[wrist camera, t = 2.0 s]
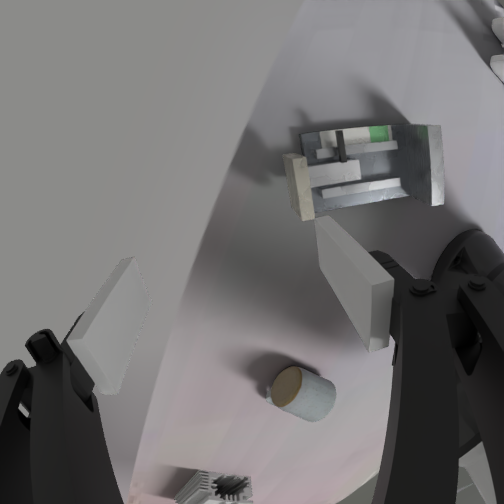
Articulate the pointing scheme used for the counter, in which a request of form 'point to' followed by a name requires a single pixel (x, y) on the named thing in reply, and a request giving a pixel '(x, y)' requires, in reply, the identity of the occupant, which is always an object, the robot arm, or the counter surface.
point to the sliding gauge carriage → (317, 176)
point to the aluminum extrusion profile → (216, 489)
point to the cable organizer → (500, 63)
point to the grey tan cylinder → (302, 394)
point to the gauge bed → (380, 164)
